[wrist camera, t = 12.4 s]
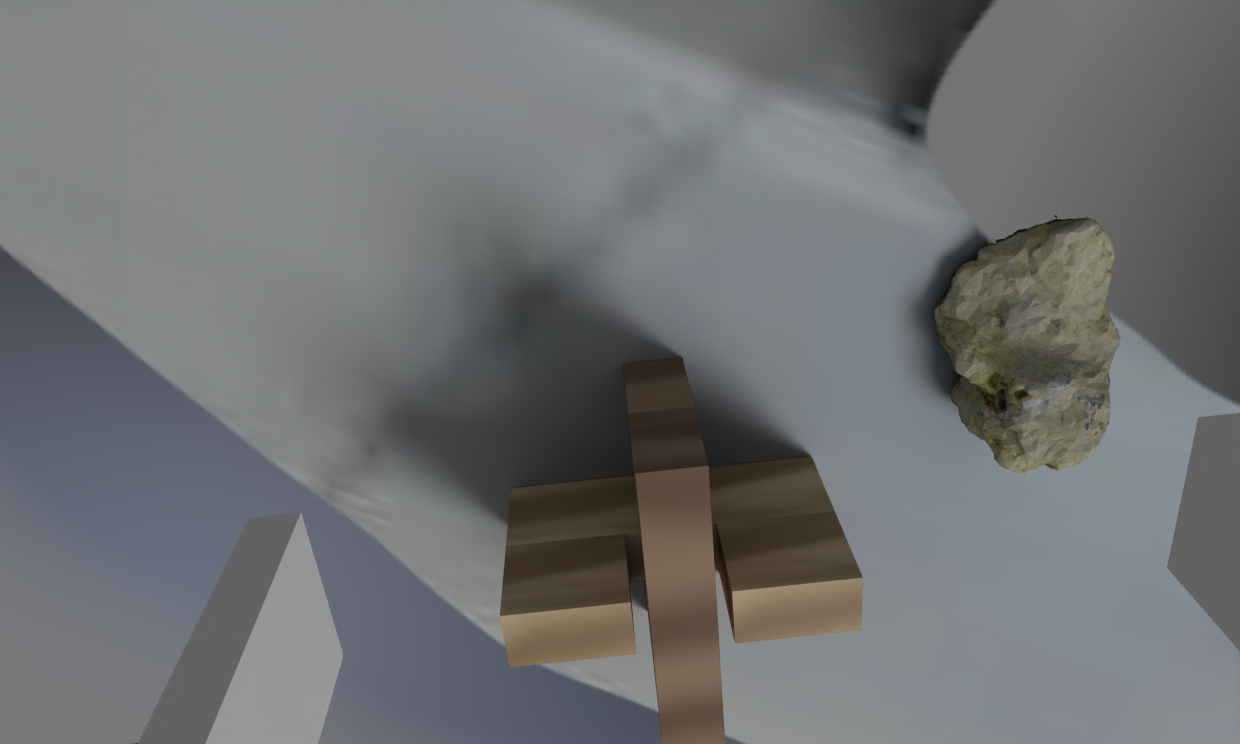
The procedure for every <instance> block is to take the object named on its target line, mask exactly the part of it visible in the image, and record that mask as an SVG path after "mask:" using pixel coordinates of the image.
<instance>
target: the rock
mask: <svg viewBox="0 0 1240 744" xmlns="http://www.w3.org/2000/svg"><path fill="white" fill-rule="evenodd" d="M1055 217H1056V218H1057V216H1056V215H1055ZM1113 263H1114V250H1113V245H1112V242H1111V240H1110V239H1109V237H1108V235H1107V234H1106V233H1105V231H1104V230H1103V228H1102V227H1101V225H1100V224H1099V223H1098V222H1097V221H1095V220H1092V219H1090V218H1078V219H1066V220H1060V219H1055V220H1052V221H1050V222H1047V223H1044V224H1040V225H1036V226H1033V227H1031V228H1029V229H1022V230H1018V231H1016V232H1015V233H1014V234H1013V235H1009V236H1008V237H1007V238H1005V239H999V240H996V244H991V245H988V246H986V247H984V248H981V249H980V251H979V252H978V255H977V256H976V257H975V259H974V260H971V261H968V262H965V263H964V264H962V265H961V266H960V267H959V268H958V270H957V271H956V273H954V274H953V278H952V282H951V285H950V287H949V289H948V291H947V292H946V293H945V295H944V296H943V298H942V299H941V302H940V304H938V306H937V307H936V309H935V311H934V317H935V321H936V326H937V333H938V334H939V338H940V344H941V345H942V346H943V347H944V349H945V350H946V351H947V352H948V354H949V355H950V356H951V361H952V366H953V369H954V370H955V371H956V372H957V373H958V374H960V375H961V377H960V378H959V379H958V381H957V382H956V384H955V386H954V388H953V389H952V391H951V400H952V402H953V403H954V404H955V405H956V406H957V407H958V409H959V415H960V418H961V421H962V423H964V424H965V426H966V427H967V429H968V431H969V432H971V433H973V434H974V435H976V436H977V437H978V438H980V439H982V440H985V441H986V442H987V444H988V445H989V446H990V448H991V449H992V451H993V453H994V459H995V460H996V461H997V462H998V464H999V465H1000V466H1002V467H1003V468H1006V469H1009V470H1012V471H1013V472H1016V473H1025V472H1027V471H1028V470H1029V469H1032V470H1033V469H1037V468H1038V467H1039V466H1041V465H1047V466H1048V467H1049V468H1051V469H1054V470H1062V469H1064V468H1067V467H1072V466H1075V465H1077V464H1080V463H1081V462H1082V461H1083V460H1084V459H1086V458H1087V457H1089V456H1090V455H1091V454H1092V453H1093V452H1094V451H1095V450H1096V449H1097V448H1098V446H1099V445H1100V443H1101V440H1102V438H1103V435H1104V433H1105V431H1106V428H1107V426H1108V425H1109V419H1110V394H1109V386H1110V379H1109V369H1110V366H1111V363H1112V360H1113V357H1114V354H1115V352H1116V350H1117V348H1118V347H1119V342H1120V335H1119V332H1118V330H1117V329H1116V328H1115V326H1114V322H1113V321H1112V320H1111V317H1110V315H1109V313H1108V311H1107V309H1106V305H1105V299H1106V297H1107V294H1108V289H1109V284H1110V280H1111V275H1112V273H1111V266H1112V265H1113Z"/></svg>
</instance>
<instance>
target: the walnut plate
mask: <svg viewBox="0 0 1240 744" xmlns="http://www.w3.org/2000/svg"><path fill="white" fill-rule="evenodd" d="M622 365H623V374H624V384H625V394H626V404H627V414H628V423H629V433H630V443H631V453H632V462H633V471H634V480H635V489H636V497H637V506H638V515H639V524H640V534H641V544H642V554H643V564H644V574H645V590H646V600H647V609H648V619H649V628H650V636H651V645H652V654H653V663H654V672H655V681H656V690H657V699H658V708H659V717H660V726H661V735H662V744H725V734H724V717H723V700H722V684H721V667H720V650H719V633H718V617H717V600H716V583H715V567H714V550H713V533H712V517H711V500H710V483H709V466H708V462H707V458H706V454H705V449H704V445H703V441H702V437H701V433H700V429H699V425H698V420H697V416H696V412H695V408H694V404H693V400H692V396H691V392H690V387H689V383H688V379H687V375H686V371H685V367H684V363H683V358H672V359H663V360H653V361H644V362H634V363H624V364H622Z"/></svg>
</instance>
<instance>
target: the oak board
mask: <svg viewBox="0 0 1240 744" xmlns="http://www.w3.org/2000/svg"><path fill="white" fill-rule="evenodd" d="M709 483H710V500H711V517H712V533H713V550H714V567H715V573H720V577H721V582H722V586H723V591H724V596H725V600H726V605H727V609H728V614H729V618H730V623H731V627H732V632H733V636H734V641H735V643H743V642H752V641H762V640H771V639H781V638H790V637H799V636H809V635H818V634H828V633H837V632H846V631H856V630H861V623H862V586H863V577H862V575H861V572H860V570H859V568H858V565H857V563H856V561H855V558H854V556H853V553H852V551H851V549H850V546H849V544H848V542H847V539H846V537H845V535H844V532H843V530H842V527H841V525H840V523H839V520H838V518H837V516H836V513H835V511H834V508H833V506H832V504H831V501H830V499H829V497H828V494H827V492H826V490H825V487H824V485H823V482H822V480H821V478H820V475H819V473H818V471H817V468H816V466H815V463H814V461H813V459H812V456H811V457H802V458H792V459H783V460H773V461H764V462H754V463H745V464H736V465H726V466H717V467H709ZM638 581H645V574H644V564H643V554H642V544H641V534H640V524H639V515H638V506H637V497H636V489H635V480H634V475H632V476H622V477H613V478H603V479H594V480H585V481H575V482H566V483H556V484H547V485H537V486H528V487H519V488H511V496H510V507H509V518H508V530H507V541H506V553H505V564H504V575H503V587H502V598H501V609H500V619H501V624H502V630H503V635H504V640H505V645H506V650H507V655H508V660H509V666H510V667H517V666H527V665H536V664H546V663H555V662H564V661H574V660H583V659H593V658H602V657H611V656H621V655H630V654H636V646H635V635H634V624H633V613H632V602H631V591H630V582H638Z"/></svg>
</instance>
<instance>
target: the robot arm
mask: <svg viewBox="0 0 1240 744" xmlns="http://www.w3.org/2000/svg"><path fill="white" fill-rule="evenodd" d="M1167 568H1168V569H1169V570H1170V571H1171V573H1172V574H1173V575H1174V576H1175V577H1176V578H1177V579H1178V581H1179V582H1180V583H1181V584H1182V585H1183V586H1184V588H1185V589H1186V590H1187V591H1188V592H1189V593H1190V594H1191V596H1192V597H1193V598H1194V599H1195V600H1196V601H1197V603H1198V604H1199V605H1200V606H1201V607H1202V608H1203V609H1204V611H1205V612H1206V613H1207V614H1208V615H1209V616H1210V618H1211V619H1212V620H1213V621H1214V622H1215V623H1216V624H1217V626H1218V627H1219V628H1220V629H1221V630H1222V631H1223V633H1224V634H1225V635H1226V636H1227V637H1228V638H1229V639H1230V641H1231V642H1232V643H1233V644H1234V645H1235V646H1236V648H1237V649H1238V650H1239V651H1240V413H1235V414H1226V415H1216V416H1207V417H1198V421H1197V426H1196V431H1195V435H1194V440H1193V445H1192V450H1191V455H1190V460H1189V464H1188V469H1187V474H1186V479H1185V484H1184V489H1183V493H1182V498H1181V503H1180V508H1179V513H1178V518H1177V522H1176V527H1175V532H1174V537H1173V542H1172V547H1171V551H1170V556H1169V561H1168V566H1167ZM342 657H343V653H342V650H341V646H340V643H339V639H338V636H337V633H336V629H335V626H334V623H333V619H332V616H331V613H330V609H329V606H328V602H327V599H326V596H325V593H324V589H323V585H322V582H321V579H320V576H319V572H318V569H317V565H316V562H315V558H314V555H313V552H312V548H311V545H310V541H309V538H308V535H307V532H306V529H305V525H304V521H303V518H302V514H301V513H292V514H283V515H273V516H264V517H254V518H248V520H247V522H246V524H245V526H244V528H243V530H242V532H241V534H240V536H239V538H238V540H237V543H236V545H235V547H234V549H233V551H232V553H231V555H230V557H229V559H228V561H227V563H226V565H225V567H224V569H223V571H222V573H221V575H220V577H219V579H218V581H217V584H216V585H215V587H214V589H213V591H212V593H211V596H210V598H209V600H208V602H207V604H206V606H205V608H204V610H203V612H202V614H201V616H200V618H199V620H198V622H197V624H196V626H195V628H194V630H193V632H192V634H191V636H190V638H189V640H188V642H187V644H186V646H185V649H184V650H183V653H182V655H181V657H180V659H179V661H178V663H177V665H176V667H175V669H174V671H173V673H172V675H171V677H170V679H169V681H168V683H167V685H166V687H165V689H164V691H163V693H162V695H161V697H160V699H159V701H158V704H157V705H156V708H155V710H154V712H153V714H152V716H151V718H150V720H149V722H148V724H147V726H146V728H145V730H144V732H143V734H142V736H141V738H140V740H139V742H138V743H136V744H318V742H319V739H320V735H321V731H322V728H323V724H324V721H325V717H326V714H327V710H328V706H329V703H330V700H331V696H332V693H333V689H334V685H335V682H336V678H337V675H338V672H339V668H340V665H341V661H342Z"/></svg>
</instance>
